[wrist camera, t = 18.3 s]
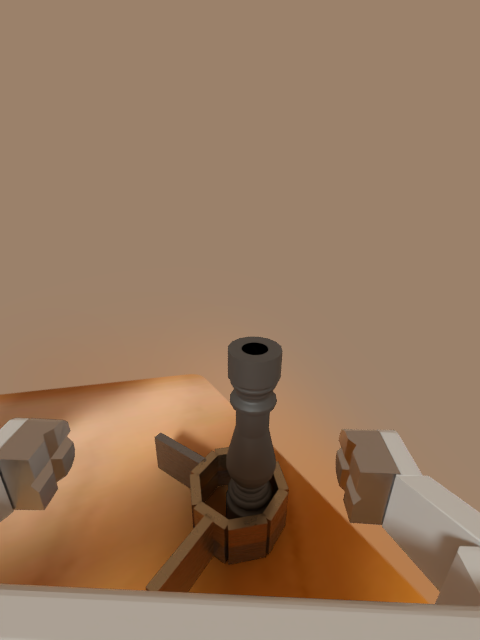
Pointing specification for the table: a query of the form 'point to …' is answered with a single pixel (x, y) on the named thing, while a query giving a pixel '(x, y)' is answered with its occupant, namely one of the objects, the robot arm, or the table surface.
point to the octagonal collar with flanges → (214, 517)
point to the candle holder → (251, 424)
